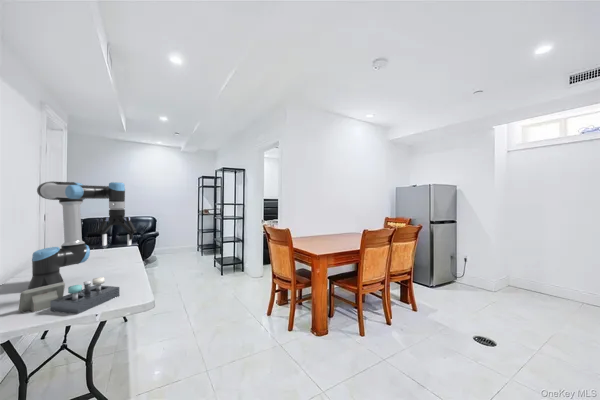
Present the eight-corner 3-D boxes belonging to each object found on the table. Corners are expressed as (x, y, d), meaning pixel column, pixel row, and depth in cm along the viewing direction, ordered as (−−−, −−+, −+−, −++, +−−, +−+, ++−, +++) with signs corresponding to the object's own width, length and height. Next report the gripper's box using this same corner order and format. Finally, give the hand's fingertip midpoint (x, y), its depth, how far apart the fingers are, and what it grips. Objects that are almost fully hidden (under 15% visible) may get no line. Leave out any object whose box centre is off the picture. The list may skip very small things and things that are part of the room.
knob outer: (65, 302, 122) (65, 287, 122) (76, 298, 127) (76, 284, 127) (74, 303, 121) (73, 288, 121) (84, 299, 126) (84, 285, 126)
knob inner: (90, 293, 134) (90, 279, 134) (99, 289, 139) (99, 277, 139) (98, 294, 133) (98, 280, 133) (106, 290, 138) (106, 277, 138)
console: (50, 311, 121) (50, 300, 121) (95, 293, 143) (95, 285, 142) (78, 314, 118) (77, 303, 118) (119, 295, 140) (119, 286, 140)
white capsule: (82, 294, 129) (82, 282, 129) (87, 292, 132) (87, 280, 132) (86, 294, 128) (86, 283, 128) (92, 292, 131) (92, 281, 131)
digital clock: (63, 299, 134) (63, 280, 134) (66, 304, 128) (66, 283, 128) (18, 310, 122) (18, 288, 122) (19, 316, 116) (18, 293, 116)
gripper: (89, 209, 141) (89, 246, 141) (136, 209, 143) (136, 246, 144) (98, 208, 149) (98, 244, 149) (143, 208, 151) (143, 243, 151)
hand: (117, 245), depth 146 cm, fingers open, 13 cm apart
